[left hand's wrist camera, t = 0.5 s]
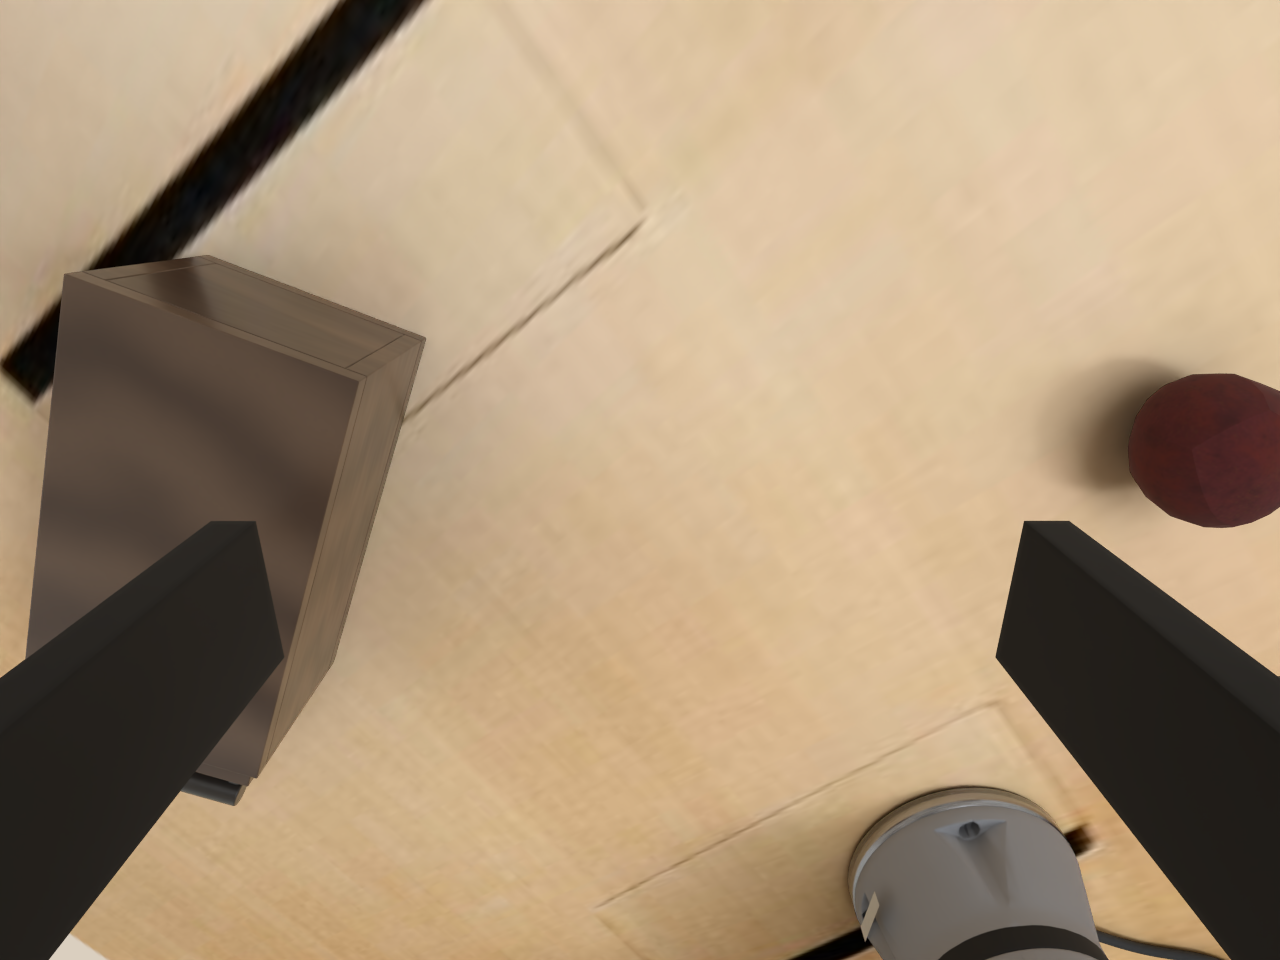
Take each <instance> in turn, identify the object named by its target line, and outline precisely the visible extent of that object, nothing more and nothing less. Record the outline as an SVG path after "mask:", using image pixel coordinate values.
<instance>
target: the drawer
mask: <svg viewBox="0 0 1280 960" xmlns="http://www.w3.org/2000/svg"><path fill="white" fill-rule="evenodd" d="M252 780H253V777H249V776H246V775H242V774H239V773H235V772H232V771H228V770H225V769H221V768H218V767H214V766H211V765H208V764H204V763H202V764H201V765H200V766H199V768H198V769H197V770H196V771H195V773H194V774H193V775H192V777H191V778H190V779H189V780H188V782H187V783H186V784H185V786H184V787H183V788H182V789H181V791H182V792H185V793H189V794H192V795H196V796H200V797H203V798H207V799H210V800H214V801H217V802H221V803H225V804H228V805H232V806H235V805H237V803H238V802H239V801H240V799H241V797H242V796H243V794H244V792H245V789H246V787H247V786H249V784H250V783H251V781H252Z"/></svg>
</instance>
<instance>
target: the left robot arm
mask: <svg viewBox="0 0 1280 960" xmlns="http://www.w3.org/2000/svg"><path fill="white" fill-rule="evenodd" d="M283 659H284V652H283V648H282V643H281V638H280V633H279V629H278V624H277V619H276V614H275V610H274V605H273V600H272V595H271V591H270V586H269V581H268V576H267V572H266V567H265V562H264V557H263V553H262V548H261V543H260V538H259V534H258V529H257V524H256V521H210V522H209V523H208V524H206V525H205V526H204V527H202V528H201V529H200V530H198V531H197V532H196V533H194V534H193V535H192V536H190V537H189V538H187V539H186V540H185V541H183V542H182V543H181V544H179V545H178V546H177V547H175V548H174V549H173V550H171V551H170V552H169V553H167V554H166V555H165V556H163V557H162V558H161V559H159V560H158V561H157V562H155V563H154V564H153V565H151V566H150V567H149V568H147V569H146V570H145V571H143V572H142V573H141V574H139V575H138V576H137V577H135V578H134V579H132V580H131V581H130V582H128V583H127V584H126V585H124V586H123V587H122V588H120V589H119V590H118V591H116V592H115V593H114V594H112V595H111V596H110V597H108V598H107V599H106V600H104V601H103V602H102V603H100V604H99V605H98V606H96V607H95V608H94V609H92V610H91V611H90V612H88V613H87V614H86V615H84V616H83V617H82V618H80V619H79V620H77V621H76V622H75V623H73V624H72V625H71V626H69V627H68V628H67V629H65V630H64V631H63V632H61V633H60V634H59V635H57V636H56V637H55V638H53V639H52V640H51V641H49V642H48V643H47V644H45V645H44V646H43V647H41V648H40V649H39V650H37V651H36V652H35V653H33V654H32V655H31V656H29V657H28V658H27V659H25V660H24V661H22V662H21V663H20V664H18V665H17V666H16V667H14V668H13V669H12V670H10V671H9V672H8V673H6V674H5V675H4V676H2V677H1V678H0V960H49V959H50V957H51V956H52V955H53V954H54V952H55V951H56V950H57V948H58V947H59V946H60V945H61V943H62V942H63V941H64V939H65V938H66V937H67V936H68V934H69V933H70V932H71V930H72V929H73V928H74V927H75V925H76V924H77V923H78V922H79V920H80V919H81V918H82V916H83V915H84V914H85V913H86V911H87V910H88V909H89V907H90V906H91V905H92V904H93V902H94V901H95V900H96V898H97V897H98V896H99V895H100V893H101V892H102V891H103V889H104V888H105V887H106V886H107V884H108V883H109V882H110V880H111V879H112V878H113V877H114V875H115V874H116V873H117V871H118V870H119V869H120V868H121V866H122V865H123V864H124V862H125V861H126V860H127V859H128V857H129V856H130V855H131V854H132V852H133V851H134V850H135V848H136V847H137V846H138V845H139V843H140V842H141V841H142V839H143V838H144V837H145V836H146V834H147V833H148V832H149V830H150V829H151V828H152V827H153V825H154V824H155V823H156V821H157V820H158V819H159V818H160V816H161V815H162V814H163V812H164V811H165V810H166V809H167V807H168V806H169V805H170V803H171V802H172V801H173V800H174V798H175V797H176V796H177V795H178V793H179V792H180V791H181V789H182V788H183V787H184V786H185V784H186V783H187V782H188V780H189V779H190V778H191V777H192V775H193V774H194V773H195V771H196V770H197V769H198V768H199V766H200V765H201V764H202V762H203V761H204V760H205V759H206V757H207V756H208V755H209V753H210V752H211V751H212V750H213V748H214V747H215V746H216V744H217V743H218V742H219V741H220V739H221V738H222V737H223V735H224V734H225V733H226V732H227V730H228V729H229V728H230V727H231V725H232V724H233V723H234V721H235V720H236V719H237V718H238V716H239V715H240V714H241V712H242V711H243V710H244V709H245V707H246V706H247V705H248V703H249V702H250V701H251V700H252V698H253V697H254V696H255V694H256V693H257V692H258V691H259V689H260V688H261V687H262V685H263V684H264V683H265V682H266V680H267V679H268V678H269V676H270V675H271V674H272V673H273V671H274V670H275V669H276V668H277V666H278V665H279V664H280V662H281V661H282V660H283ZM996 659H997V660H998V661H999V662H1000V664H1001V665H1002V666H1003V668H1004V669H1005V670H1006V671H1007V673H1008V674H1009V675H1010V676H1011V678H1012V679H1013V680H1014V682H1015V683H1016V684H1017V685H1018V687H1019V688H1020V689H1021V691H1022V692H1023V693H1024V694H1025V696H1026V697H1027V698H1028V700H1029V701H1030V702H1031V703H1032V705H1033V706H1034V707H1035V709H1036V710H1037V711H1038V712H1039V714H1040V715H1041V716H1042V718H1043V719H1044V720H1045V721H1046V723H1047V724H1048V725H1049V727H1050V728H1051V729H1052V730H1053V732H1054V733H1055V734H1056V735H1057V737H1058V738H1059V739H1060V741H1061V742H1062V743H1063V744H1064V746H1065V747H1066V748H1067V750H1068V751H1069V752H1070V753H1071V755H1072V756H1073V757H1074V759H1075V760H1076V761H1077V762H1078V764H1079V765H1080V766H1081V768H1082V769H1083V770H1084V771H1085V773H1086V774H1087V775H1088V777H1089V778H1090V779H1091V780H1092V782H1093V783H1094V784H1095V786H1096V787H1097V788H1098V789H1099V791H1100V792H1101V793H1102V795H1103V796H1104V797H1105V798H1106V800H1107V801H1108V802H1109V803H1110V805H1111V806H1112V807H1113V809H1114V810H1115V811H1116V812H1117V814H1118V815H1119V816H1120V818H1121V819H1122V820H1123V821H1124V823H1125V824H1126V825H1127V827H1128V828H1129V829H1130V830H1131V832H1132V833H1133V834H1134V836H1135V837H1136V838H1137V839H1138V841H1139V842H1140V843H1141V845H1142V846H1143V847H1144V848H1145V850H1146V851H1147V852H1148V854H1149V855H1150V856H1151V857H1152V859H1153V860H1154V861H1155V863H1156V864H1157V865H1158V866H1159V868H1160V869H1161V870H1162V871H1163V873H1164V874H1165V875H1166V877H1167V878H1168V879H1169V880H1170V882H1171V883H1172V884H1173V886H1174V887H1175V888H1176V889H1177V891H1178V892H1179V893H1180V895H1181V896H1182V897H1183V898H1184V900H1185V901H1186V902H1187V904H1188V905H1189V906H1190V907H1191V909H1192V910H1193V911H1194V913H1195V914H1196V915H1197V916H1198V918H1199V919H1200V920H1201V922H1202V923H1203V924H1204V925H1205V927H1206V928H1207V929H1208V930H1209V932H1210V933H1211V934H1212V936H1213V937H1214V938H1215V939H1216V941H1217V942H1218V943H1219V945H1220V946H1221V947H1222V948H1223V950H1224V951H1225V952H1226V954H1227V955H1228V956H1229V957H1230V959H1231V960H1280V676H1276V675H1275V674H1274V673H1272V672H1271V671H1270V670H1268V669H1267V668H1266V667H1264V666H1263V665H1262V664H1260V663H1259V662H1258V661H1256V660H1255V659H1253V658H1252V657H1251V656H1249V655H1248V654H1247V653H1245V652H1244V651H1243V650H1241V649H1240V648H1239V647H1237V646H1236V645H1235V644H1233V643H1232V642H1231V641H1229V640H1228V639H1227V638H1225V637H1224V636H1223V635H1221V634H1220V633H1219V632H1217V631H1216V630H1215V629H1213V628H1212V627H1211V626H1209V625H1208V624H1207V623H1205V622H1204V621H1203V620H1201V619H1200V618H1198V617H1197V616H1196V615H1194V614H1193V613H1192V612H1190V611H1189V610H1188V609H1186V608H1185V607H1184V606H1182V605H1181V604H1180V603H1178V602H1177V601H1176V600H1174V599H1173V598H1172V597H1170V596H1169V595H1168V594H1166V593H1165V592H1164V591H1162V590H1161V589H1160V588H1158V587H1157V586H1156V585H1154V584H1153V583H1152V582H1150V581H1149V580H1148V579H1146V578H1145V577H1143V576H1142V575H1141V574H1139V573H1138V572H1137V571H1135V570H1134V569H1133V568H1131V567H1130V566H1129V565H1127V564H1126V563H1125V562H1123V561H1122V560H1121V559H1119V558H1118V557H1117V556H1115V555H1114V554H1113V553H1111V552H1110V551H1109V550H1107V549H1106V548H1105V547H1103V546H1102V545H1101V544H1099V543H1098V542H1097V541H1095V540H1094V539H1093V538H1091V537H1090V536H1088V535H1087V534H1086V533H1084V532H1083V531H1082V530H1080V529H1079V528H1078V527H1076V526H1075V525H1074V524H1072V523H1071V522H1070V521H1024V524H1023V529H1022V534H1021V538H1020V543H1019V548H1018V553H1017V557H1016V562H1015V567H1014V572H1013V576H1012V581H1011V586H1010V591H1009V595H1008V600H1007V605H1006V610H1005V614H1004V619H1003V624H1002V629H1001V633H1000V638H999V643H998V648H997V652H996Z"/></svg>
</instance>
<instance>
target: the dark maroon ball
mask: <svg viewBox="0 0 1280 960" xmlns="http://www.w3.org/2000/svg"><path fill="white" fill-rule="evenodd" d="M1128 454H1129V467H1130V473H1131V474H1132V476H1133V478H1134V480H1135V481H1136V483H1137V484H1138V486H1139V487H1140V489H1141V490H1142V492H1143V493H1144V495H1145V496H1146V497H1147V498H1148V499H1150V500H1151V501H1152V502H1153V503H1155V504H1156V505H1157V506H1158V507H1160V508H1161V509H1162V510H1163V511H1165V512H1166V513H1167V514H1168V515H1170V516H1172V517H1175V518H1178V519H1181V520H1184V521H1187V522H1190V523H1193V524H1196V525H1199V526H1202V527H1213V528H1227V527H1235V526H1239V525H1244V524H1248V523H1252V522H1254V521H1256V520H1258V519H1260V518H1263V517H1265V516H1267V515H1269V514H1271V513H1272V512H1273V511H1275V510H1276V509H1278V508H1279V507H1280V391H1278V390H1275V389H1273V388H1271V387H1268V386H1266V385H1263V384H1261V383H1258V382H1255V381H1253V380H1250V379H1247V378H1244V377H1241V376H1239V375H1236V374H1193V375H1190V376H1187V377H1184V378H1181V379H1179V380H1177V381H1174V382H1172V383H1169V384H1167V385H1164V386H1162V387H1161V388H1160V389H1159V390H1158V391H1157V392H1155V393H1154V394H1153V395H1152V396H1151V397H1150V398H1148V399H1147V400H1146V402H1145V404H1144V405H1143V407H1142V408H1141V410H1140V411H1139V413H1138V414H1137V416H1136V418H1135V422H1134V425H1133V428H1132V432H1131V435H1130V439H1129V445H1128Z"/></svg>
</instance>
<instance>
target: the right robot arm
mask: <svg viewBox="0 0 1280 960" xmlns="http://www.w3.org/2000/svg"><path fill="white" fill-rule="evenodd" d="M848 887H849V893H850V896H851V899H852V903H853V906H854V909H855V912H856V916H857V919H858V921H859V923H860V925H861V930H862V933H863V936H864V940H865V941H866V938H867V937H868V939H869V940H870V942H871V943H872V944H873V946H874V947H875V949H876V950H877V952H878V953H879V955H880V956H881V957H882V959H883V960H1108V958H1107V957H1106V955H1105V953H1104V952H1103V950H1102V948H1101V946H1100V943H1099V942H1101V943H1105V944H1108V945H1111V946H1114V947H1117V948H1121V949H1124V950H1128V951H1132V952H1136V953H1140V954H1144V955H1149V956H1154V957H1160V958H1166V959H1173V960H1221V959H1218V958H1215V957H1212V956H1208V955H1204V954H1200V953H1196V952H1190V951H1185V950H1178V949H1172V948H1165V947H1159V946H1153V945H1147V944H1143V943H1138V942H1134V941H1130V940H1127V939H1123V938H1120V937H1116V936H1113V935H1110V934H1107V933H1104V932H1101V931H1097V930H1096V928H1095V924H1094V921H1093V917H1092V913H1091V909H1090V905H1089V901H1088V898H1087V894H1086V890H1085V887H1084V883H1083V879H1082V876H1081V871H1080V868H1079V864H1078V861H1077V859H1076V857H1075V854H1074V851H1073V849H1072V847H1071V845H1070V843H1069V842H1068V840H1067V839H1066V837H1065V836H1064V834H1063V833H1062V831H1061V830H1060V828H1059V827H1058V825H1057V824H1056V822H1055V821H1054V820H1053V819H1052V817H1051V816H1050V815H1049V814H1048V813H1047V812H1046V811H1045V810H1043V809H1042V808H1041V807H1039V806H1038V805H1037V804H1035V803H1033V802H1032V801H1030V800H1028V799H1026V798H1024V797H1021V796H1019V795H1016V794H1013V793H1010V792H1006V791H1001V790H996V789H989V788H959V789H951V790H945V791H940V792H936V793H932V794H929V795H926V796H923V797H920V798H918V799H915V800H913V801H910V802H908V803H906V804H904V805H902V806H900V807H899V808H897V809H895V810H894V811H892V812H890V813H889V814H888V815H886V816H885V817H884V818H882V819H881V820H880V821H879V822H878V823H876V824H875V825H874V826H873V827H872V828H871V829H870V830H869V831H868V832H867V834H866V835H865V836H864V837H863V839H862V840H861V842H860V843H859V845H858V846H857V848H856V850H855V852H854V854H853V857H852V859H851V862H850V866H849V872H848Z"/></svg>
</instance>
